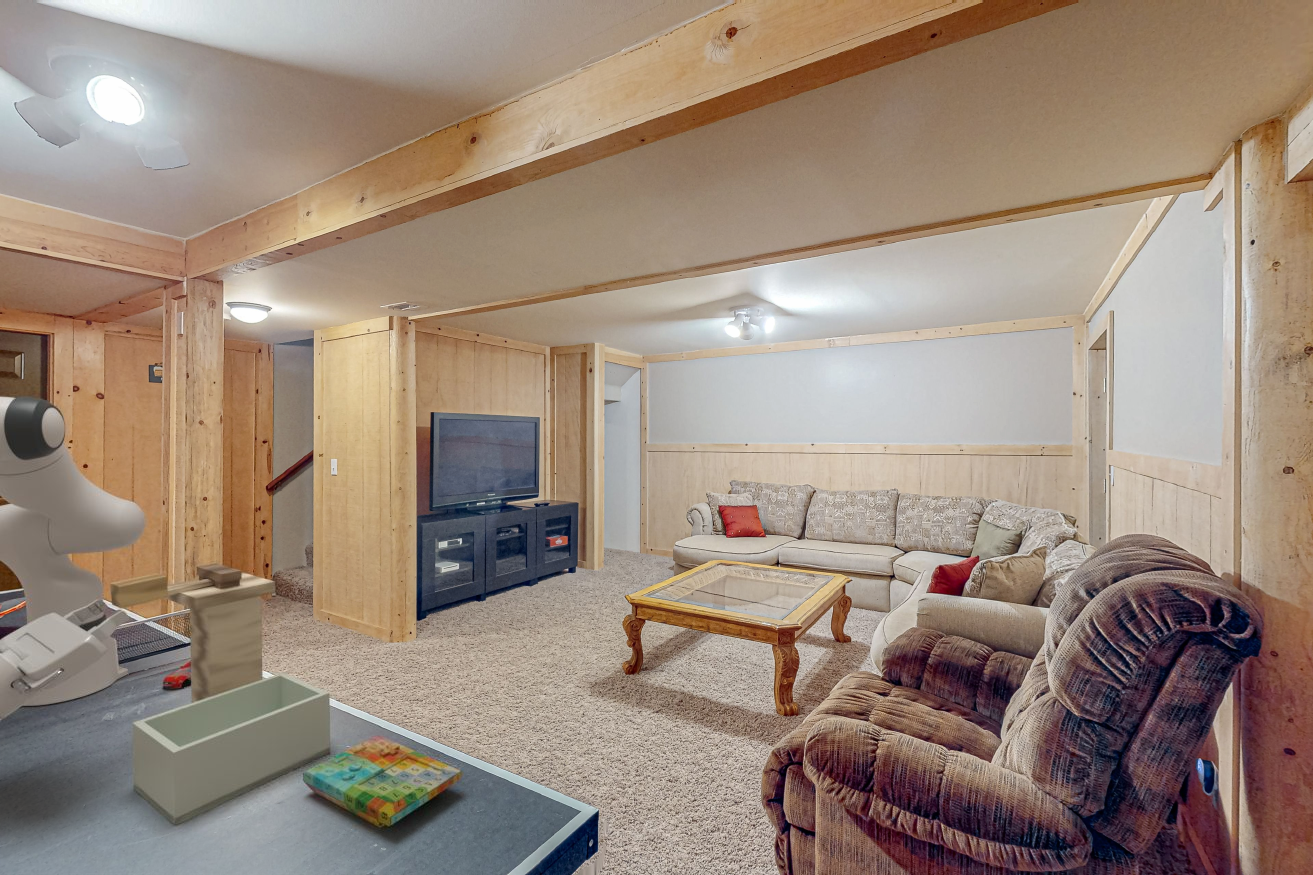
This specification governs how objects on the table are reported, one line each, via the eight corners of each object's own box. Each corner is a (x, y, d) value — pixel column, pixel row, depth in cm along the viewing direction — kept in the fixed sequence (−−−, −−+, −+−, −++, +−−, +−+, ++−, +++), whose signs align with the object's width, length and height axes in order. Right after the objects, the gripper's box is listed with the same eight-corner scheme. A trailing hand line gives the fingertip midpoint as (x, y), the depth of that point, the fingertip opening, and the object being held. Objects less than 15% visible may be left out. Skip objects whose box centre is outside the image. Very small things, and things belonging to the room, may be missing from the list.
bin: (133, 788, 88) (132, 722, 88) (284, 727, 106) (283, 672, 105) (175, 825, 80) (173, 752, 80) (330, 752, 98) (329, 692, 97)
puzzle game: (375, 729, 96) (461, 764, 86) (376, 758, 96) (461, 796, 86) (302, 765, 86) (390, 810, 76) (303, 797, 86) (390, 846, 76)
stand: (164, 731, 104) (161, 570, 104) (241, 704, 114) (238, 557, 114) (198, 755, 97) (195, 581, 96) (277, 723, 107) (274, 566, 106)
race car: (175, 693, 120) (174, 674, 120) (155, 690, 121) (155, 671, 121) (237, 667, 132) (237, 650, 132) (219, 665, 134) (219, 647, 134)
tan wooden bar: (112, 604, 94) (110, 583, 94) (233, 575, 109) (231, 557, 108) (121, 608, 92) (119, 586, 92) (243, 578, 106) (241, 559, 106)
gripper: (6, 681, 76) (124, 604, 86) (-29, 648, 87) (80, 583, 97) (41, 713, 79) (152, 634, 89) (3, 677, 90) (106, 611, 100)
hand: (114, 607), depth 93 cm, fingers open, 8 cm apart
